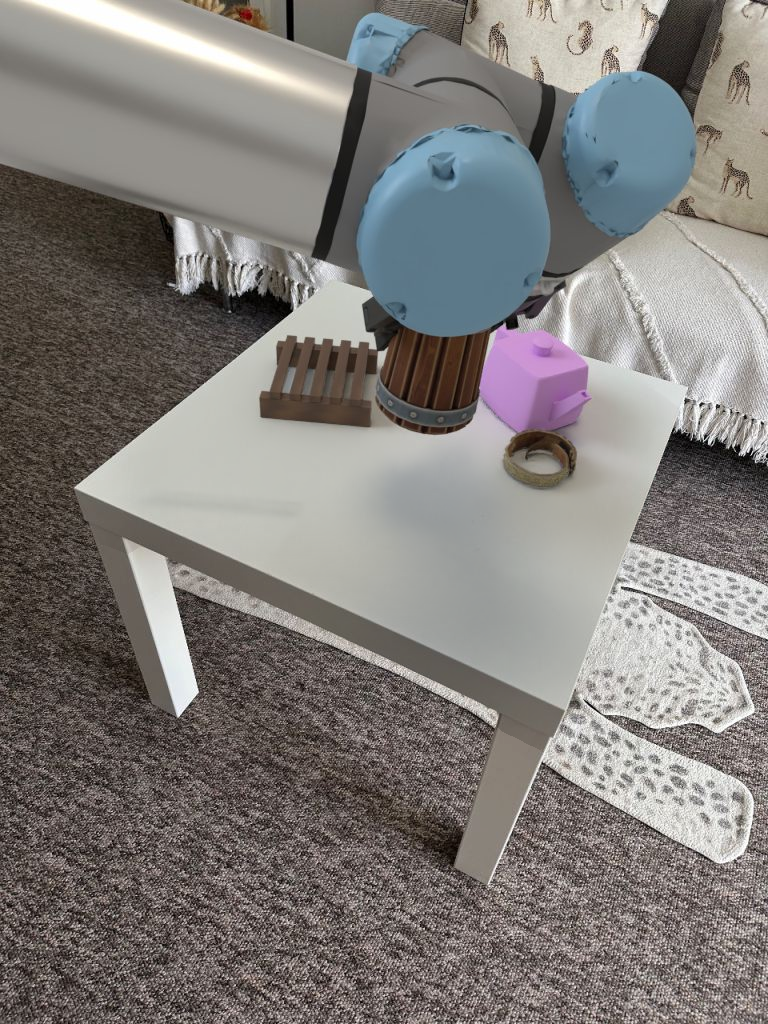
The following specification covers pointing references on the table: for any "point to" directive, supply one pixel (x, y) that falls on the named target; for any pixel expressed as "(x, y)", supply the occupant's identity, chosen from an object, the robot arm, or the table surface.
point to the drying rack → (320, 382)
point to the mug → (431, 380)
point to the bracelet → (536, 441)
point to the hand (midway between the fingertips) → (426, 334)
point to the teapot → (534, 380)
